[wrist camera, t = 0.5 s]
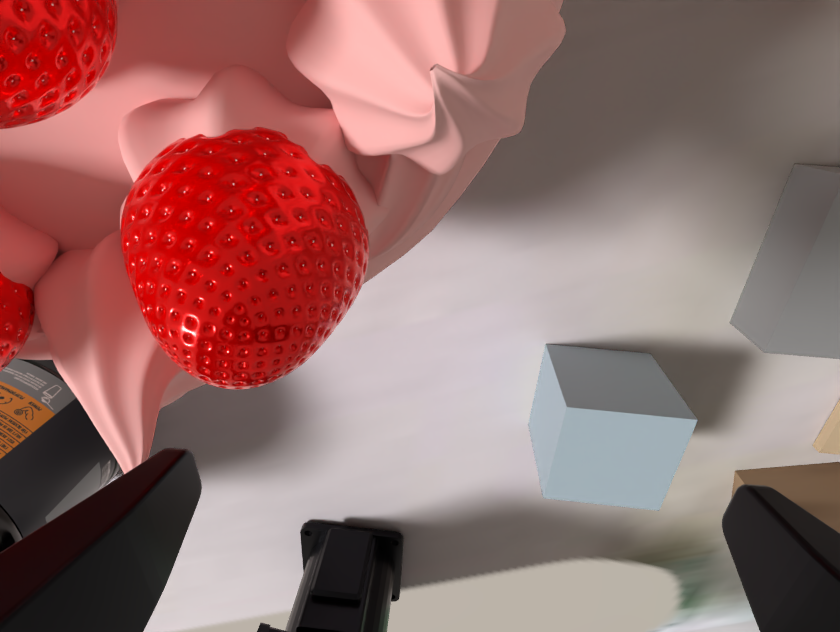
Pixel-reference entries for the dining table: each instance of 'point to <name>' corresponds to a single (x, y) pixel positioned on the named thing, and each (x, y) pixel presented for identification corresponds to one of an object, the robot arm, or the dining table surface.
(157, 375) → the cake
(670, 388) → the slate cube
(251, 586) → the dining table surface
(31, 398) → the supplement container
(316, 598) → the robot arm
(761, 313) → the base block
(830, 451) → the tan flat square frame
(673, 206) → the dining table surface
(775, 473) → the walnut cube
